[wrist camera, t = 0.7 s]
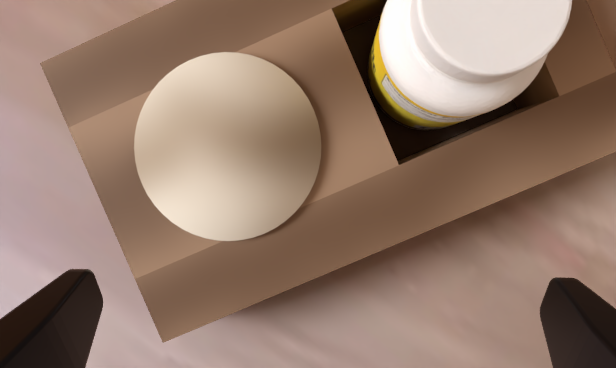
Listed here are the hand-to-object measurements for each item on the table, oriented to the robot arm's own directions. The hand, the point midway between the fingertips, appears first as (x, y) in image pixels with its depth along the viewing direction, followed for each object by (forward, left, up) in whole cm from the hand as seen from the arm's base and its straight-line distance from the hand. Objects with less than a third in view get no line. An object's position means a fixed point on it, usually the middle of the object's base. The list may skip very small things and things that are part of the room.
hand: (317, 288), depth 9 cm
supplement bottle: (+4, -7, -13) cm, 16 cm away
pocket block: (+4, -2, -13) cm, 14 cm away
